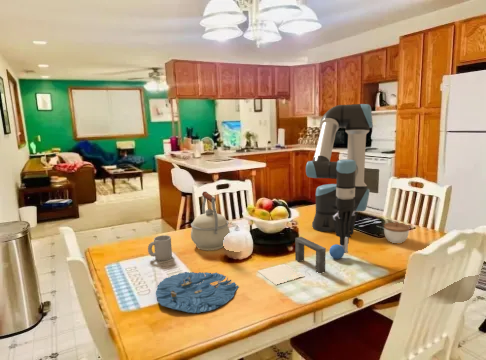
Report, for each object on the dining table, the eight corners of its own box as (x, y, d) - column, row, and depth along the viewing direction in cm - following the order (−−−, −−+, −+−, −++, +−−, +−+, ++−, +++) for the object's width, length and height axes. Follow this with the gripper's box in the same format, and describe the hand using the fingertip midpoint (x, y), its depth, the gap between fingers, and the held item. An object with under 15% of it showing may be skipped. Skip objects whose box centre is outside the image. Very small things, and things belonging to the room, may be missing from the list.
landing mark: (257, 271, 133) (257, 270, 133) (284, 264, 139) (284, 263, 139) (275, 285, 122) (275, 284, 122) (304, 276, 128) (304, 276, 128)
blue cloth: (196, 269, 141) (196, 257, 140) (254, 290, 122) (253, 276, 121) (133, 296, 118) (132, 282, 117) (192, 326, 99) (191, 310, 98)
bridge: (319, 273, 130) (319, 249, 128) (295, 260, 143) (295, 238, 141) (325, 272, 131) (325, 248, 129) (301, 258, 144) (301, 236, 142)
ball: (328, 258, 145) (324, 247, 143) (338, 250, 147) (335, 239, 145) (338, 263, 140) (334, 252, 138) (348, 255, 142) (345, 244, 140)
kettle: (237, 249, 156) (235, 196, 151) (197, 256, 149) (194, 201, 145) (220, 233, 178) (218, 186, 174) (185, 238, 172) (182, 190, 167)
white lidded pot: (412, 245, 155) (413, 225, 153) (388, 246, 155) (389, 226, 153) (402, 237, 165) (403, 218, 164) (379, 237, 166) (380, 219, 164)
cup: (173, 259, 147) (172, 239, 146) (149, 263, 144) (148, 243, 142) (170, 253, 154) (169, 234, 152) (147, 257, 150) (146, 237, 149)
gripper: (340, 201, 134) (339, 257, 138) (363, 196, 140) (361, 251, 144) (327, 197, 140) (326, 252, 144) (349, 193, 147) (348, 246, 151)
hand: (344, 251), depth 144 cm, fingers closed
